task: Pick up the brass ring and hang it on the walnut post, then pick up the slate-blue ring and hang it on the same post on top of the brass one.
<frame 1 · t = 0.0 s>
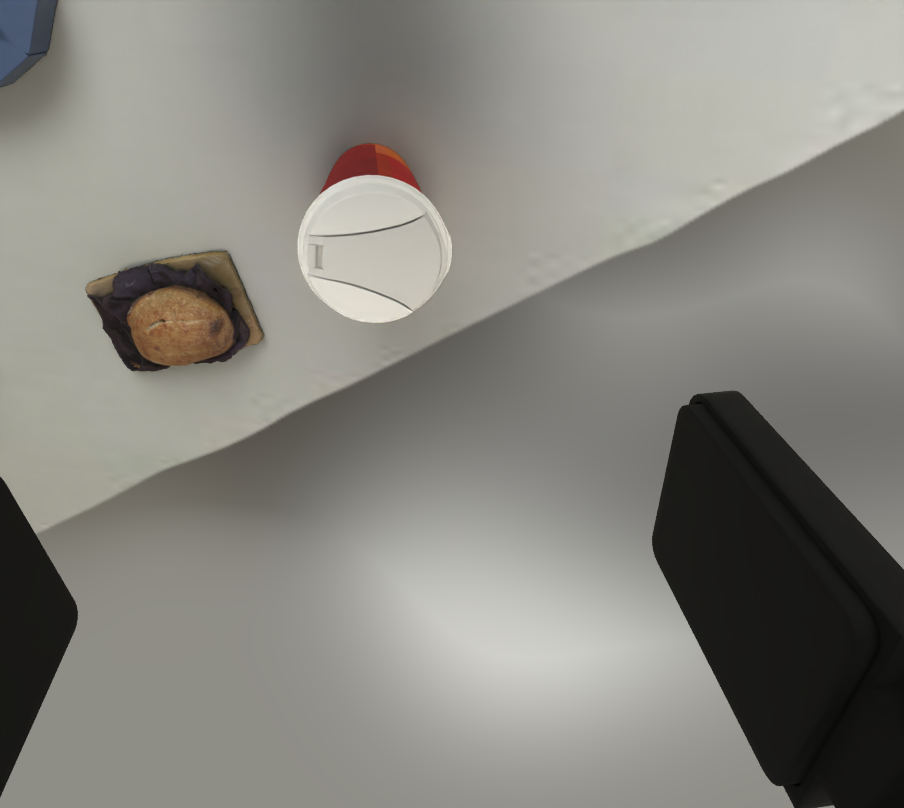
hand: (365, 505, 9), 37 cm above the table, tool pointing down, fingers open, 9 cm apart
paper cup: (372, 185, 42), on the table
bun on tray: (180, 310, 46), on the table
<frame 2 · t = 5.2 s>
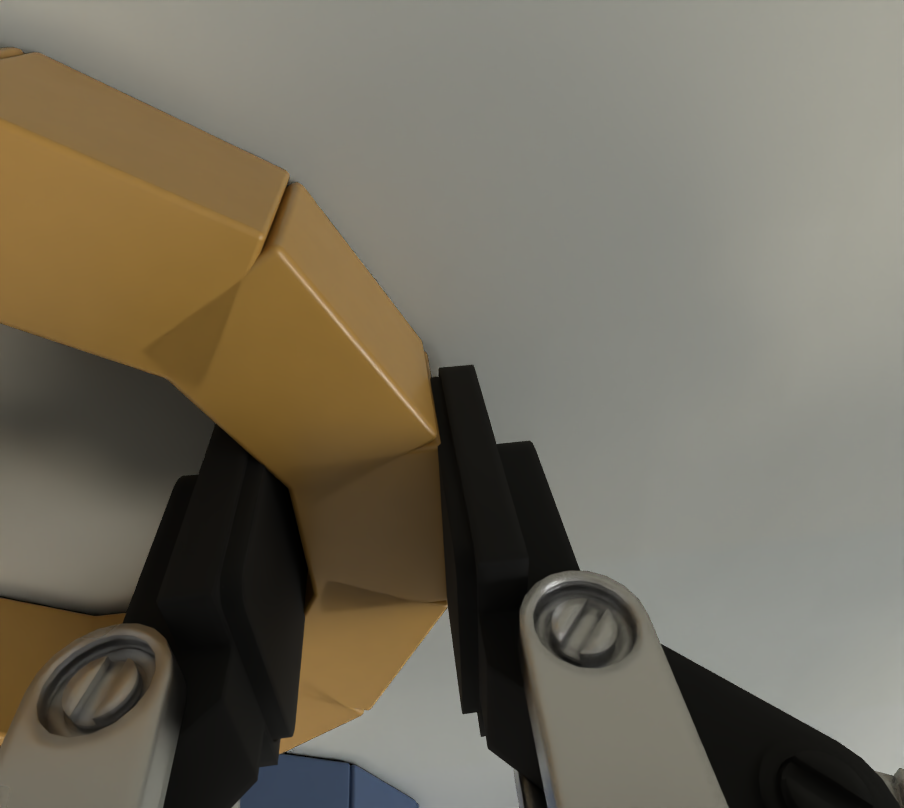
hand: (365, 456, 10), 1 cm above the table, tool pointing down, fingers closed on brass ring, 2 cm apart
brass ring: (78, 459, 10), on the table, touching gripper
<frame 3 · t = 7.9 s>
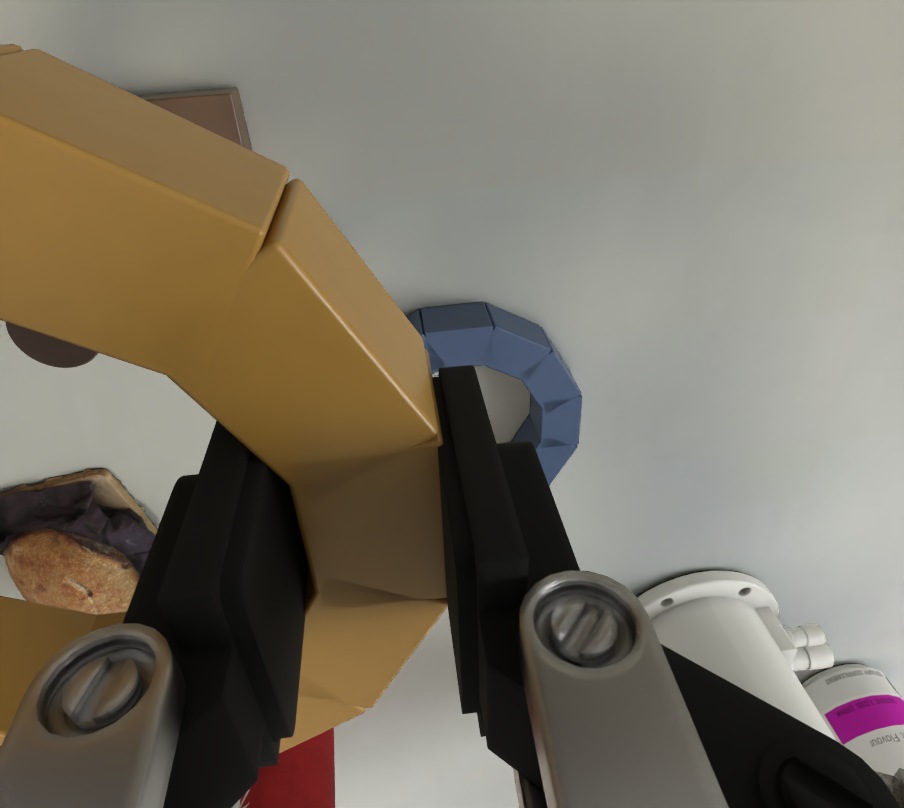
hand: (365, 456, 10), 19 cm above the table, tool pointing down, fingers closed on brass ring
brass ring: (79, 457, 10), point 18 cm above the table, touching gripper
supplement can: (831, 685, 54), on the table
paper cup: (292, 678, 44), on the table
stand: (153, 218, 25), on the table
bun on tray: (96, 547, 35), on the table
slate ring: (458, 406, 32), on the table
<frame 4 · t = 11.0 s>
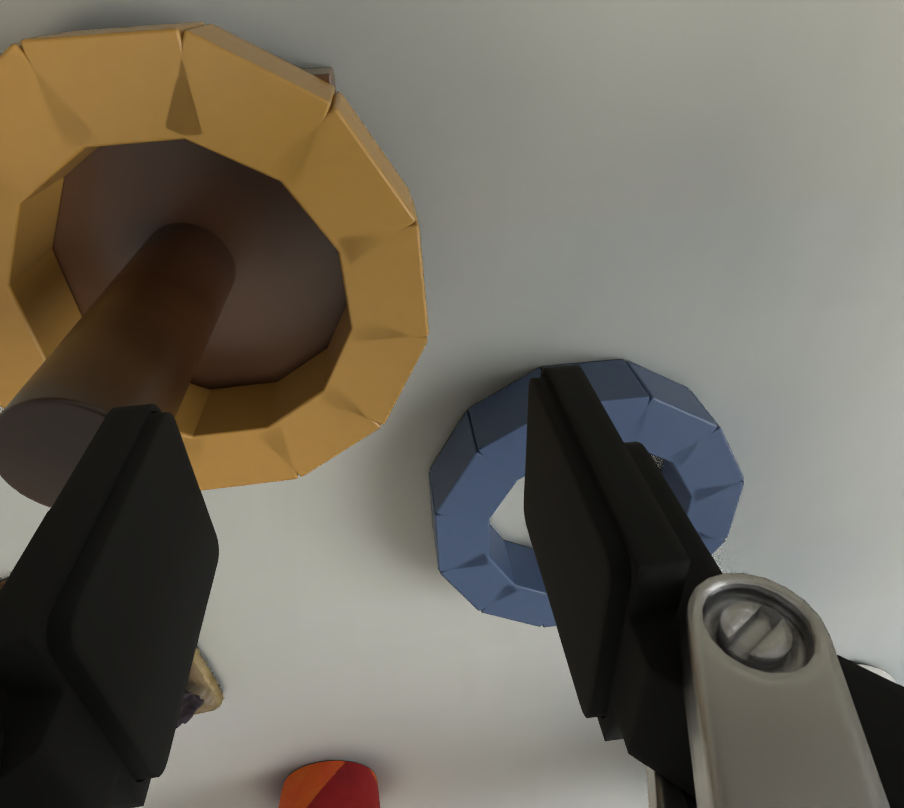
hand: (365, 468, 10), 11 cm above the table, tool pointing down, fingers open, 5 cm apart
brass ring: (209, 269, 17), point 1 cm above the table, touching stand
paper cup: (330, 781, 37), on the table
stand: (201, 247, 18), on the table
bun on tray: (103, 646, 28), on the table
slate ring: (571, 484, 25), on the table
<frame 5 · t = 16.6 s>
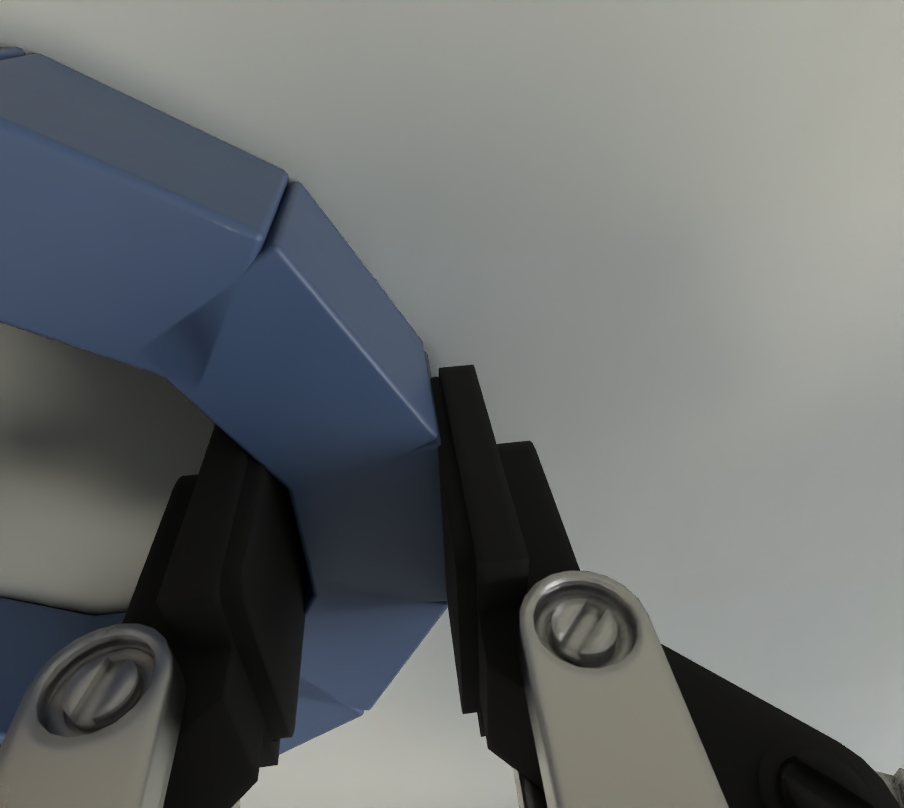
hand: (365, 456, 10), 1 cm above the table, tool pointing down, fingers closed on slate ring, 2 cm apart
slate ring: (78, 459, 10), on the table, touching gripper
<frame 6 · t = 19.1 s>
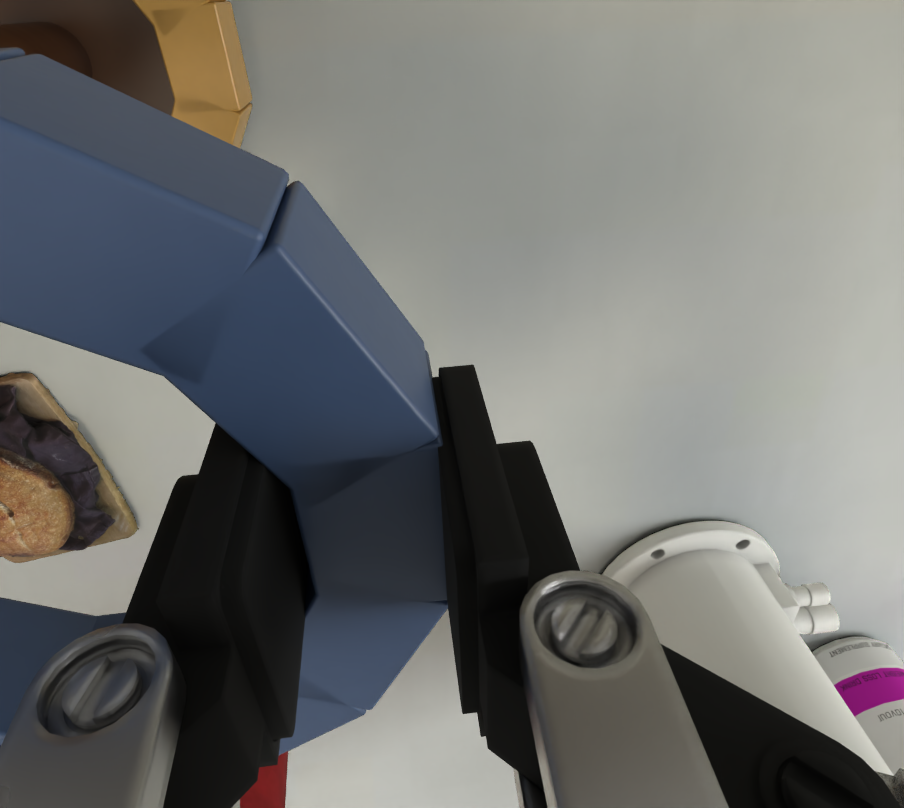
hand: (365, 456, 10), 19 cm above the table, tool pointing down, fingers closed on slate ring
brass ring: (70, 67, 21), point 1 cm above the table, touching stand
supplement can: (835, 661, 50), on the table
paper cup: (250, 634, 41), on the table
stand: (71, 59, 22), on the table
bun on tray: (26, 469, 32), on the table
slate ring: (79, 459, 10), point 18 cm above the table, touching gripper
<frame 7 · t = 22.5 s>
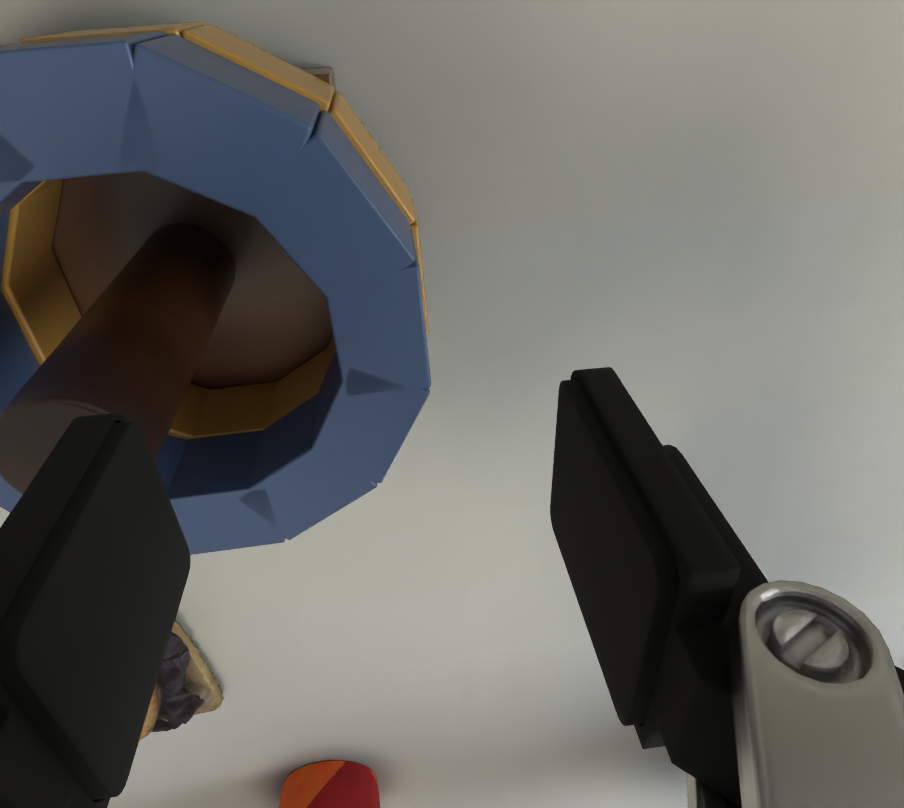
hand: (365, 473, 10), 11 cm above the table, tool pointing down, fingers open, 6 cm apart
brass ring: (209, 269, 17), point 1 cm above the table, touching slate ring, stand
paper cup: (330, 781, 37), on the table
stand: (201, 247, 18), on the table
bun on tray: (103, 646, 28), on the table
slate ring: (182, 311, 15), point 4 cm above the table, touching brass ring
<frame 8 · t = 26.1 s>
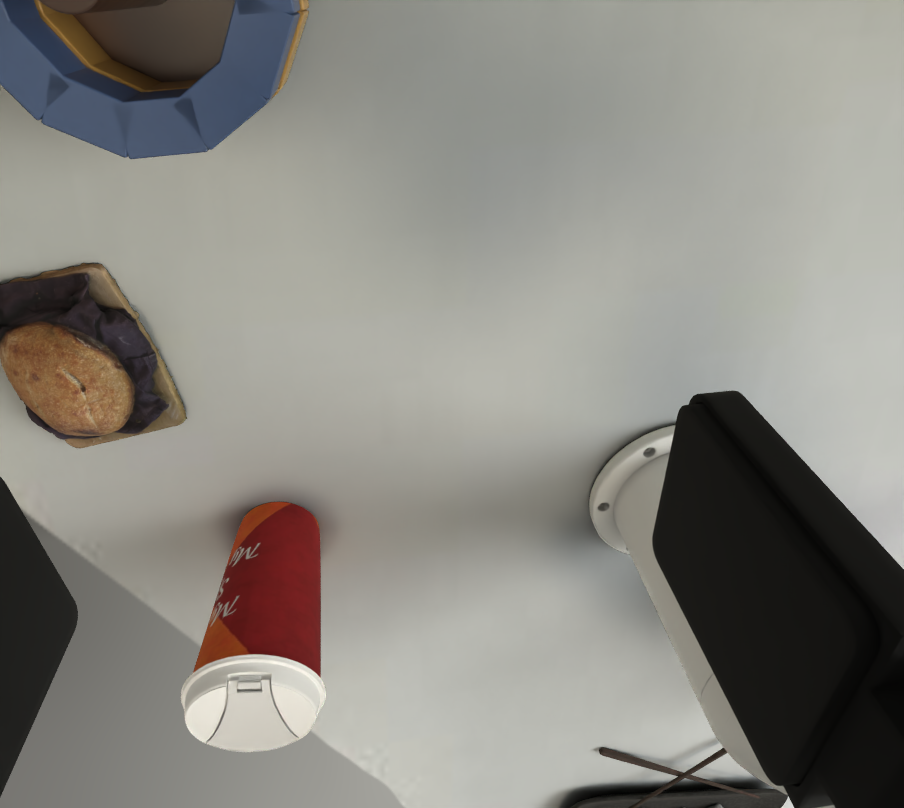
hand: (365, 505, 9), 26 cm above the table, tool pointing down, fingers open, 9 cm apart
sushi plate: (684, 775, 75), on the table
paper cup: (280, 528, 45), on the table
bun on tray: (90, 358, 36), on the table
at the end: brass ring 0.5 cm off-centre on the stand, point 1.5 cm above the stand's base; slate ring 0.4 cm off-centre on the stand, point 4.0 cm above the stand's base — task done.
